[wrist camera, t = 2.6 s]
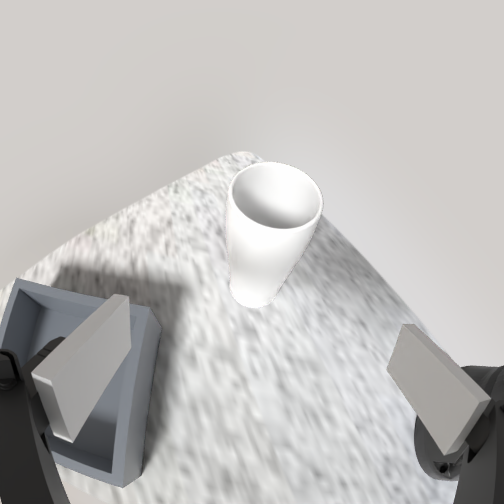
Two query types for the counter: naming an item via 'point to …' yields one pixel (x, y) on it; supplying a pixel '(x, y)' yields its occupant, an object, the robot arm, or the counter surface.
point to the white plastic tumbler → (268, 228)
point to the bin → (115, 394)
